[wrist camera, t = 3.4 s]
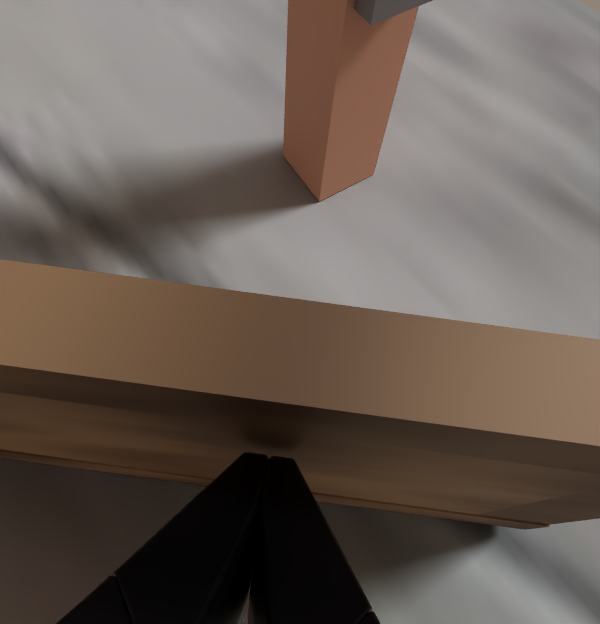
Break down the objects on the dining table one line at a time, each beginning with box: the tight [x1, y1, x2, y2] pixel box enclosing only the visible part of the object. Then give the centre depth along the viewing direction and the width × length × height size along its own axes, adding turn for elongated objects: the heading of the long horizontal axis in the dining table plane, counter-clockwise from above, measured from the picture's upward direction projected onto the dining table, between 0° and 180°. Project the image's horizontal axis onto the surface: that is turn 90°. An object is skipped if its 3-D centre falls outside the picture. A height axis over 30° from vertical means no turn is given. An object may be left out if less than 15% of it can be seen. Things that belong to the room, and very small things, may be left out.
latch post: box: [283, 0, 432, 202], centre depth 15 cm, size 2×3×12 cm
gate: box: [0, 259, 600, 529], centre depth 10 cm, size 15×1×10 cm, turn 83°
